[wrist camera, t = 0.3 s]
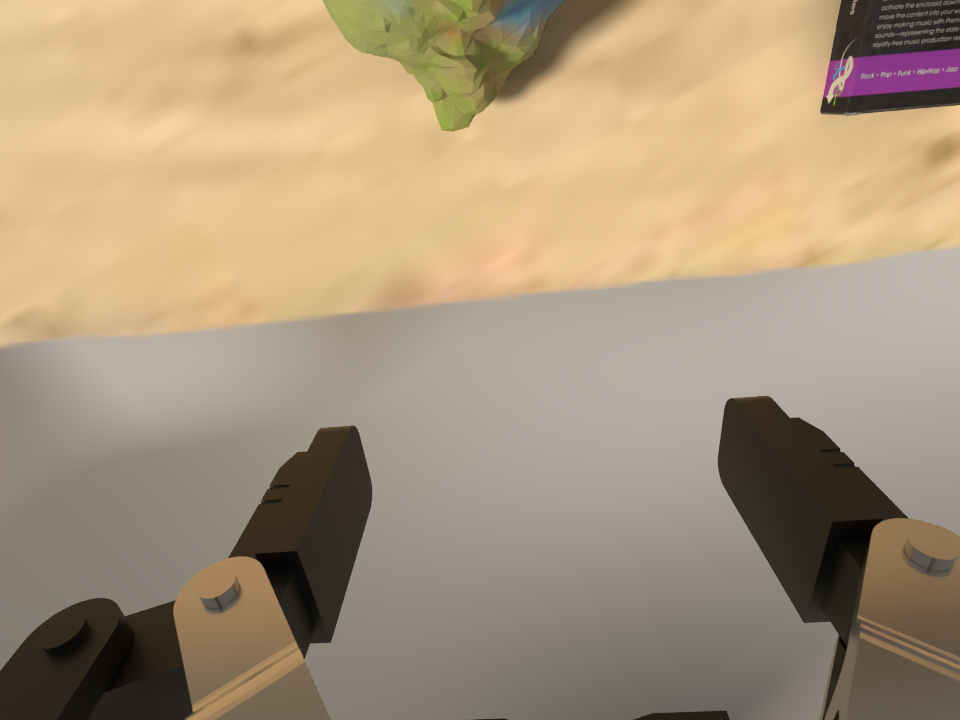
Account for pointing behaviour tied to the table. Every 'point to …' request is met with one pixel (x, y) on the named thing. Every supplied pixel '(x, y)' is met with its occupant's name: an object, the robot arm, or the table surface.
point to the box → (894, 56)
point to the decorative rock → (448, 44)
